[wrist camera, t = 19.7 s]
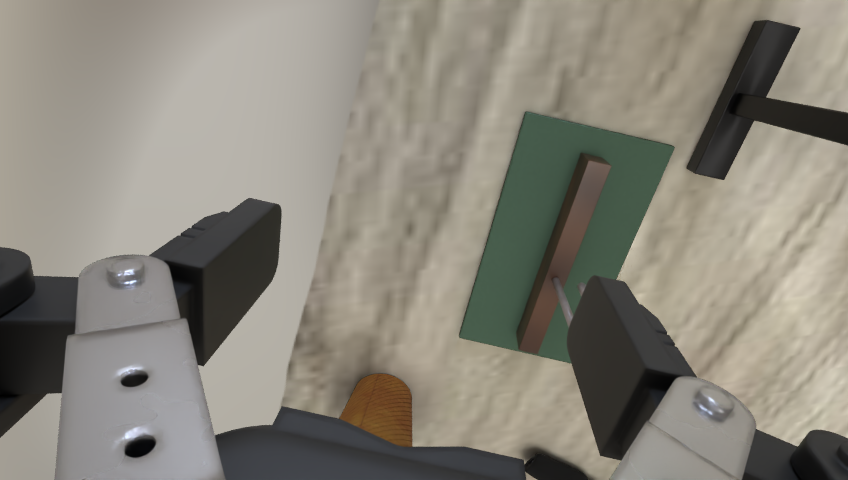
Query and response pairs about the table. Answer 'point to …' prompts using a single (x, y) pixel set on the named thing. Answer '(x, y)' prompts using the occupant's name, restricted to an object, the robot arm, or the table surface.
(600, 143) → the mat
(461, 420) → the table surface
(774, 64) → the rail stand
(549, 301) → the brown bar with hook
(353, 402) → the disposable coffee cup
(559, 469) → the electric trimmer
